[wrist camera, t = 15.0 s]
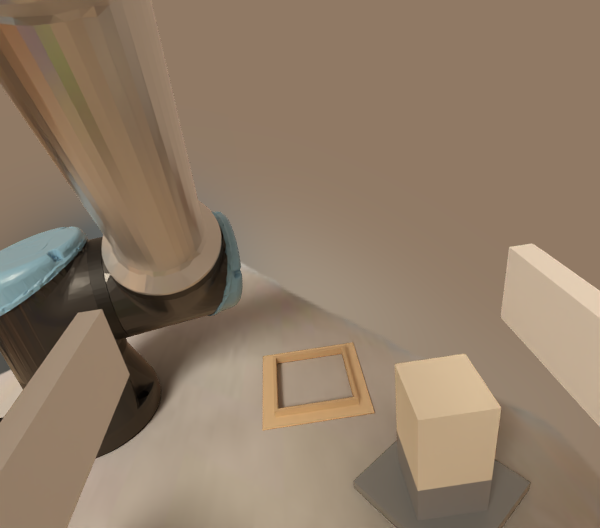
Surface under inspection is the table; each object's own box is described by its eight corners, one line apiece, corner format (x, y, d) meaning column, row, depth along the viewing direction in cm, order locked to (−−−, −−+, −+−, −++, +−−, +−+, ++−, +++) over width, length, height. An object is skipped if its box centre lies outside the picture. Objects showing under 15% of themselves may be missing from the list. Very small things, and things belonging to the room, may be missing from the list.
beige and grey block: (417, 520, 35) (418, 420, 29) (397, 458, 40) (394, 363, 35) (487, 510, 35) (501, 407, 29) (458, 449, 40) (465, 353, 35)
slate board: (354, 487, 39) (353, 481, 39) (424, 420, 45) (424, 414, 44) (459, 586, 31) (460, 579, 31) (529, 489, 37) (530, 482, 36)
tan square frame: (262, 430, 46) (261, 424, 46) (263, 356, 58) (261, 351, 57) (374, 413, 47) (374, 406, 46) (352, 342, 58) (352, 337, 57)
